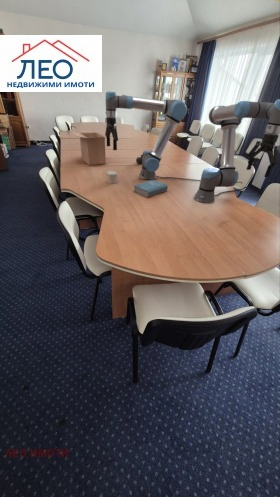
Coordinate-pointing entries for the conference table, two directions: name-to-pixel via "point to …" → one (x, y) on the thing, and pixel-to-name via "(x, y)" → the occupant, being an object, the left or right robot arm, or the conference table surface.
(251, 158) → the right robot arm
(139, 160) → the laser sight
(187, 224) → the conference table surface
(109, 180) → the canister
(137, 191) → the book
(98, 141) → the box
